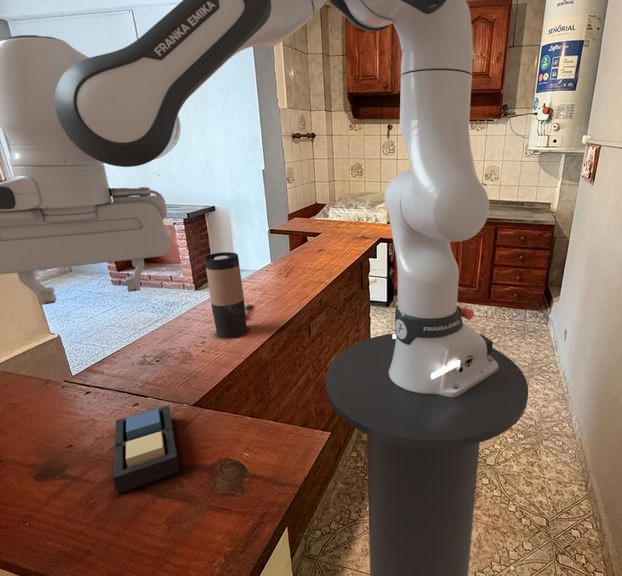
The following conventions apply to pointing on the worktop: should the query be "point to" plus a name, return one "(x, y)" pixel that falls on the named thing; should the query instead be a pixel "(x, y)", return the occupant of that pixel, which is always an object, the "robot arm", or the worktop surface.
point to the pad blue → (143, 424)
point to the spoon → (247, 305)
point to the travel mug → (226, 294)
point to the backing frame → (148, 470)
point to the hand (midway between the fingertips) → (93, 296)
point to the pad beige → (144, 449)
